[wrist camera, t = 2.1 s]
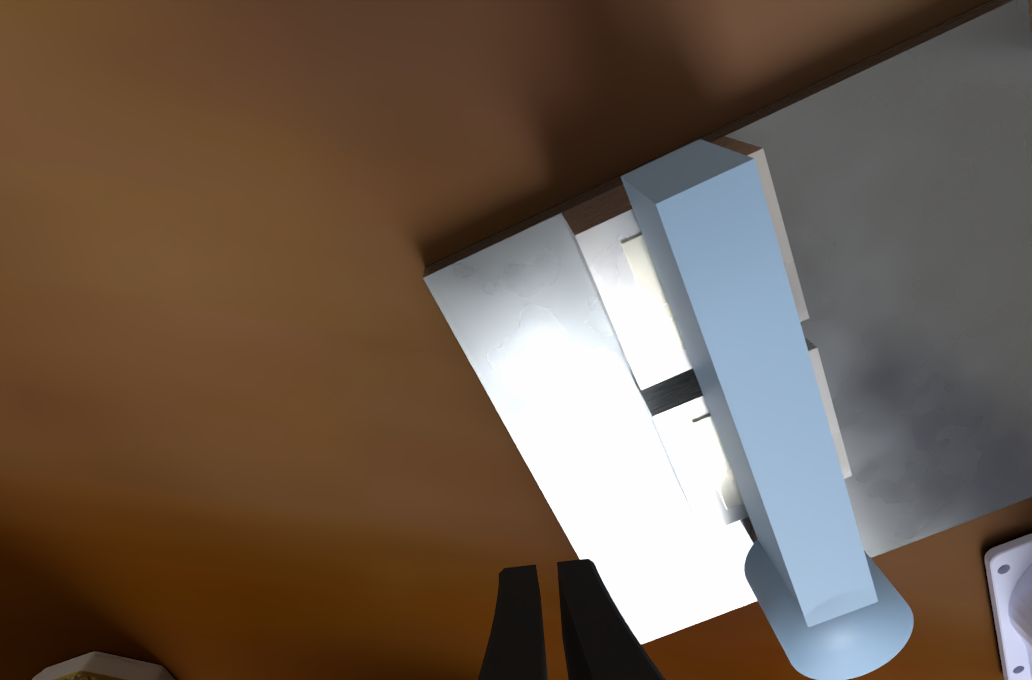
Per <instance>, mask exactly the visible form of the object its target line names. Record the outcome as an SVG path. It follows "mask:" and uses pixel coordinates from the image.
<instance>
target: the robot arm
mask: <svg viewBox="0 0 1032 680" xmlns="http://www.w3.org/2000/svg"><path fill="white" fill-rule="evenodd" d="M984 560H985V566H986V572H987V578H988V585H989V591H990V597H991V603H992V609H993V615H994V621H995V627H996V633H997V639H998V645H999V651H1000V657H1001V663H1002V669H1003V675H1004V680H1032V533H1031V534H1028V535H1025V536H1023V537H1020V538H1017V539H1015V540H1012V541H1009V542H1007V543H1004V544H1001V545H998V546H996V547H993V548H991V549H990V550H989V551H988V552H987V553H986V554H985V559H984ZM557 566H558V580H559V595H560V609H561V623H562V637H563V644H564V651H565V658H566V664H567V671H568V678H569V680H665V678H664V677H663V676H662V674H661V673H660V672H659V670H658V669H657V667H656V666H655V665H654V663H653V662H652V660H651V659H650V658H649V656H648V655H647V653H646V652H645V650H644V649H643V647H642V646H641V644H640V643H639V641H638V640H637V638H636V637H635V635H634V634H633V632H632V631H631V629H630V628H629V626H628V625H627V623H626V621H625V620H624V618H623V617H622V615H621V613H620V611H619V610H618V608H617V606H616V605H615V603H614V601H613V600H612V598H611V596H610V594H609V592H608V590H607V589H606V587H605V585H604V583H603V581H602V579H601V577H600V575H599V573H598V570H597V568H596V566H595V563H594V562H593V561H591V560H590V559H581V560H572V561H563V562H557ZM478 680H548V676H547V665H546V654H545V642H544V631H543V620H542V608H541V597H540V590H539V583H538V577H537V570H536V565H529V566H520V567H512V568H504V569H503V570H502V571H501V572H500V573H499V588H498V597H497V603H496V609H495V615H494V620H493V624H492V629H491V634H490V637H489V641H488V645H487V649H486V653H485V657H484V660H483V664H482V668H481V671H480V675H479V678H478Z"/></svg>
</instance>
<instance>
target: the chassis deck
mask: <svg viewBox="0 0 1032 680" xmlns="http://www.w3.org/2000/svg"><path fill="white" fill-rule="evenodd" d="M724 136H726V137H729V138H732V139H735V140H739V141H742V142H745V143H748V144H752V145H755V146H758V147H761V148H763V149H764V153H765V156H766V160H767V164H768V167H769V171H770V175H771V179H772V182H773V186H774V190H775V193H776V197H777V201H778V204H779V208H780V212H781V215H782V219H783V223H784V226H785V230H786V234H787V237H788V241H789V245H790V249H791V252H792V256H793V260H794V263H795V267H796V271H797V274H798V278H799V282H800V285H801V289H802V293H803V296H804V300H805V304H806V307H807V311H808V315H809V319H806V320H804V321H802V322H800V323H801V327H802V331H803V334H804V337H805V338H807V339H808V340H809V341H810V342H811V343H813V344H814V345H815V346H816V347H817V348H818V352H819V355H820V359H821V363H822V366H823V370H824V374H825V377H826V381H827V385H828V388H829V392H830V396H831V400H832V403H833V407H834V411H835V414H836V418H837V422H838V425H839V429H840V433H841V436H842V440H843V444H844V447H845V451H846V455H847V458H848V462H849V466H850V469H851V473H852V476H850V477H848V478H845V479H844V481H845V484H846V488H847V492H848V495H849V499H850V502H851V506H852V509H853V513H854V517H855V520H856V524H857V527H858V531H859V534H860V538H861V542H862V545H863V549H864V551H865V552H866V553H867V554H868V556H869V557H870V558H872V557H874V556H877V555H880V554H882V553H885V552H887V551H890V550H893V549H895V548H898V547H901V546H903V545H906V544H909V543H911V542H914V541H917V540H919V539H922V538H925V537H927V536H930V535H933V534H935V533H938V532H940V531H943V530H946V529H948V528H951V527H954V526H956V525H959V524H962V523H964V522H967V521H970V520H972V519H975V518H978V517H980V516H983V515H985V514H988V513H991V512H993V511H996V510H999V509H1001V508H1004V507H1007V506H1009V505H1012V504H1015V503H1017V502H1020V501H1023V500H1025V499H1028V498H1031V497H1032V35H1031V22H1030V10H1029V0H991V1H989V2H987V3H984V4H982V5H980V6H978V7H976V8H974V9H972V10H970V11H968V12H965V13H963V14H961V15H959V16H957V17H955V18H953V19H951V20H948V21H946V22H944V23H942V24H940V25H938V26H936V27H934V28H931V29H929V30H927V31H925V32H923V33H921V34H919V35H917V36H915V37H912V38H910V39H908V40H906V41H904V42H902V43H900V44H898V45H895V46H893V47H891V48H889V49H887V50H885V51H883V52H881V53H879V54H876V55H874V56H872V57H870V58H868V59H866V60H864V61H862V62H859V63H857V64H855V65H853V66H851V67H849V68H847V69H845V70H842V71H840V72H838V73H836V74H834V75H832V76H830V77H828V78H826V79H823V80H821V81H819V82H817V83H815V84H813V85H811V86H809V87H806V88H804V89H802V90H800V91H798V92H796V93H794V94H792V95H790V96H787V97H785V98H783V99H781V100H779V101H777V102H775V103H773V104H770V105H768V106H766V107H764V108H762V109H760V110H758V111H756V112H753V113H751V114H749V115H747V116H745V117H743V118H741V119H739V120H737V121H734V122H732V123H730V124H728V125H726V126H724V127H722V128H720V129H717V130H715V131H713V132H711V133H709V134H707V135H705V136H703V137H701V138H698V139H696V140H694V141H692V142H690V143H688V144H686V145H684V146H681V147H679V148H677V149H675V150H673V151H671V152H669V153H667V154H664V155H662V156H660V157H658V158H656V159H654V160H652V161H650V162H648V163H645V164H643V165H641V166H639V167H637V168H635V169H633V170H631V171H628V172H626V173H624V174H622V175H620V176H618V177H616V178H614V179H612V180H609V181H607V182H605V183H603V184H601V185H599V186H597V187H595V188H592V189H590V190H588V191H586V192H584V193H582V194H580V195H578V196H575V197H573V198H571V199H569V200H567V201H565V202H563V203H561V204H559V205H556V206H554V207H552V208H550V209H548V210H546V211H544V212H542V213H539V214H537V215H535V216H533V217H531V218H529V219H527V220H525V221H523V222H520V223H518V224H516V225H514V226H512V227H510V228H508V229H506V230H503V231H501V232H499V233H497V234H495V235H493V236H491V237H489V238H486V239H484V240H482V241H480V242H478V243H476V244H474V245H472V246H470V247H467V248H465V249H463V250H461V251H459V252H457V253H455V254H453V255H450V256H448V257H446V258H444V259H442V260H440V261H438V262H436V263H434V264H431V265H429V266H427V267H425V270H424V275H423V279H424V281H425V282H426V284H427V286H428V288H429V290H430V291H431V293H432V295H433V297H434V299H435V300H436V302H437V304H438V306H439V308H440V309H441V311H442V313H443V315H444V317H445V318H446V320H447V322H448V324H449V325H450V327H451V329H452V331H453V333H454V334H455V336H456V338H457V340H458V342H459V343H460V345H461V347H462V349H463V351H464V352H465V354H466V356H467V358H468V360H469V361H470V363H471V365H472V367H473V369H474V370H475V372H476V374H477V376H478V377H479V379H480V381H481V383H482V385H483V386H484V388H485V390H486V392H487V394H488V395H489V397H490V399H491V401H492V403H493V404H494V406H495V408H496V410H497V412H498V413H499V415H500V417H501V419H502V420H503V422H504V424H505V426H506V428H507V429H508V431H509V433H510V435H511V437H512V438H513V440H514V442H515V444H516V446H517V447H518V449H519V451H520V453H521V455H522V456H523V458H524V460H525V462H526V464H527V465H528V467H529V469H530V471H531V472H532V474H533V476H534V478H535V480H536V481H537V483H538V485H539V487H540V489H541V490H542V492H543V494H544V496H545V498H546V499H547V501H548V503H549V505H550V507H551V508H552V510H553V512H554V514H555V515H556V517H557V519H558V521H559V523H560V524H561V526H562V528H563V530H564V532H565V533H566V535H567V537H568V539H569V541H570V542H571V544H572V546H573V548H574V550H575V551H576V553H577V555H578V557H579V559H580V560H581V559H590V560H591V561H593V562H594V563H595V566H596V568H597V570H598V573H599V575H600V577H601V579H602V581H603V583H604V585H605V587H606V589H607V590H608V592H609V594H610V596H611V598H612V600H613V601H614V603H615V605H616V606H617V608H618V610H619V611H620V613H621V615H622V617H623V618H624V620H625V621H626V623H627V625H628V626H629V628H630V629H631V631H632V632H633V634H634V635H635V637H636V638H637V640H638V641H639V643H640V644H644V643H646V642H649V641H652V640H654V639H657V638H660V637H662V636H665V635H668V634H670V633H673V632H675V631H678V630H681V629H683V628H686V627H689V626H691V625H694V624H697V623H699V622H702V621H705V620H707V619H710V618H713V617H715V616H718V615H721V614H723V613H726V612H728V611H731V610H734V609H736V608H739V607H742V606H744V605H747V604H750V603H752V602H755V601H758V600H757V599H756V597H755V595H754V593H753V591H752V589H751V587H750V585H749V584H748V582H747V580H746V577H745V572H744V564H745V560H746V556H747V554H748V552H749V550H750V548H751V547H752V545H753V542H752V540H751V539H750V537H749V535H748V534H747V532H746V530H745V528H744V527H743V525H742V523H741V522H740V520H739V521H736V522H734V523H731V524H729V525H726V526H724V527H721V528H719V529H716V530H713V531H711V532H708V533H706V534H702V532H701V530H700V527H699V525H698V523H697V521H696V519H695V517H694V515H693V513H692V511H691V509H690V507H689V505H688V503H687V501H686V499H685V497H684V495H683V493H682V491H681V489H680V487H679V485H678V482H677V480H676V478H675V475H674V473H673V471H672V469H671V466H670V464H669V462H668V459H667V457H666V455H665V452H664V450H663V448H662V445H661V443H660V441H659V438H658V436H657V434H656V431H655V429H654V427H653V424H652V422H651V420H650V417H649V415H648V413H647V411H646V408H645V406H644V404H643V401H642V399H641V397H640V394H639V392H638V390H637V387H636V385H635V383H634V380H633V378H632V377H633V376H634V375H633V374H632V372H631V370H630V368H629V366H628V364H627V362H626V360H625V358H624V356H623V354H622V352H621V350H620V348H619V346H618V343H617V341H616V339H615V336H614V334H613V332H612V329H611V327H610V325H609V322H608V320H607V318H606V315H605V313H604V311H603V308H602V306H601V304H600V301H599V299H598V297H597V294H596V292H595V290H594V288H593V285H592V283H591V281H590V278H589V276H588V274H587V271H586V269H585V267H584V264H583V262H582V260H581V257H580V255H579V253H578V250H577V248H576V246H575V243H574V241H573V239H572V236H571V234H570V232H569V230H568V227H567V225H566V223H565V220H564V218H563V216H562V212H564V211H566V210H568V209H571V208H573V207H575V206H577V205H579V204H581V203H583V202H586V201H588V200H590V199H592V198H594V197H596V196H598V195H600V194H603V193H605V192H607V191H609V190H611V189H613V188H615V187H617V186H620V185H622V184H623V182H622V179H621V176H623V175H625V174H627V173H629V172H632V171H634V170H636V169H638V168H640V167H642V166H644V165H646V164H649V163H651V162H653V161H655V160H657V159H659V158H661V157H663V156H665V155H668V154H670V153H672V152H674V151H676V150H678V149H680V148H682V147H685V146H687V145H689V144H691V143H693V142H695V141H697V140H699V139H701V140H704V141H707V142H710V143H711V142H713V141H715V140H717V139H720V138H722V137H724Z"/></svg>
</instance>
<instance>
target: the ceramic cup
mask: <svg viewBox="0 0 1032 680" xmlns="http://www.w3.org/2000/svg"><path fill="white" fill-rule="evenodd" d="M32 680H175V679H174V678H173V677H172V676H171V675H170V673H169V672H168V671H167V670H166V669H165V668H164V667H163V666H161V665H157V664H152V663H148V662H143V661H139V660H134V659H130V658H125V657H121V656H116V655H111V654H107V653H102V652H97V651H96V652H90V653H88V654H85V655H82V656H79V657H76V658H73V659H70V660H67V661H64V662H62V663H59V664H56V665H53V666H50V667H47V668H45V669H44V670H43V671H42V672H40V673H39V674H37V675H36V676H35V677H34V678H33V679H32Z"/></svg>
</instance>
